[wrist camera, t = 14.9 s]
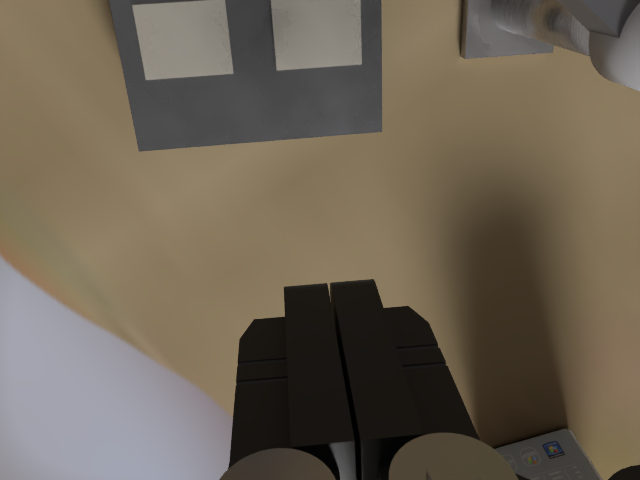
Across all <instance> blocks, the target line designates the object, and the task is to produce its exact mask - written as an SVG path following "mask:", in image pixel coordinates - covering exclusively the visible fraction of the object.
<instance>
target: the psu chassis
mask: <svg viewBox="0 0 640 480" xmlns="http://www.w3.org/2000/svg"><path fill="white" fill-rule="evenodd" d="M109 3H110V8H111V13H112V18H113V23H114V28H115V33H116V38H117V43H118V48H119V53H120V58H121V63H122V68H123V73H124V78H125V83H126V88H127V93H128V98H129V104H130V109H131V114H132V119H133V124H134V129H135V134H136V139H137V144H138V149H139V151H150V150H163V149H175V148H187V147H200V146H212V145H224V144H237V143H249V142H261V141H274V140H286V139H298V138H311V137H323V136H336V135H348V134H360V133H373V132H382V42H381V0H109Z"/></svg>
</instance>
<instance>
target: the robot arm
mask: <svg viewBox="0 0 640 480" xmlns="http://www.w3.org/2000/svg"><path fill="white" fill-rule="evenodd" d="M330 299H331V302H330ZM284 302H285V317H276V318H265V319H254V320H253V322H252V323H251V324H250V326H249V327H248V329H247V330H246V331H245V333H244V334H243V335H242V337H241V338H240V341H239V353H238V366H237V378H236V384H237V386H236V390H235V402H234V414H233V427H232V440H231V451H230V462H229V468H228V470H227V471H226V472H225V473H224V474H223V476H222V477H221V478H220V480H530V479H527V478H525V477H523V476H521V475H519V474H516V473H515V472H514V471H513V469H512V468H511V466H510V465H509V463H508V462H507V461H506V459H505V458H504V457H503V456H502V455H501V454H500V453H498V452H497V451H496V450H495V449H493V448H492V447H490V446H489V445H487V444H485V443H484V442H482V441H480V439H479V437H478V435H477V433H476V430H475V428H474V426H473V424H472V421H471V419H470V417H469V414H468V412H467V410H466V407H465V405H464V403H463V401H462V398H461V396H460V394H459V391H458V389H457V387H456V384H455V382H454V380H453V378H452V375H451V373H450V371H449V368H448V366H446V361H445V359H444V357H443V355H442V352H441V350H440V348H438V343H437V341H436V338H435V336H434V334H433V332H432V329H431V327H430V325H429V323H428V322H427V321H426V320H425V319H424V318H422V317H421V316H420V315H419V314H417V313H416V312H415V311H414V310H413V309H411V308H410V307H409V306H403V307H391V308H383V305H382V302H381V299H380V296H379V293H378V289H377V286H376V283H375V281H374V280H373V279H370V280H358V281H346V282H334V283H330V296H329V291H328V285H327V283H324V284H312V285H300V286H288V287H284ZM608 480H640V465H636V466H630V467H627V468H624V469H621V470H620V471H618V472H616V473H615V474H613V475H612V476H611V477H610V478H609V479H608Z"/></svg>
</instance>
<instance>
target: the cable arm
mask: <svg viewBox="0 0 640 480" xmlns="http://www.w3.org/2000/svg"><path fill="white" fill-rule="evenodd" d="M557 1H558V2H559V3H560V4H561V5H562V6H563V7H564V8H565V9H566V10H567V11H568V12H569V13H570V14H571V15H573V16H574V17H575V18H576V19H577V20H578V21H579V22H580V23H581V24H582V25H583V26H584V27H585V28H586V29H587V30H588V31H589V32H590V34H589V55H590V58H591V61H592V64H593V66H594V67H595V69H596V70H597V71H598V73H599V74H600V75H602V76H603V77H604V78H606V79H608V80H610V81H612V82H615V83H618V84H621V85H624V86H626V87H629V88H632V89H635V90H637V91H640V0H557Z"/></svg>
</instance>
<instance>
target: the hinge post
mask: <svg viewBox="0 0 640 480" xmlns="http://www.w3.org/2000/svg"><path fill="white" fill-rule="evenodd" d="M589 34H590V32H589V31H588V30H587V29H586V28H585V27H584V26H583V25H582V24H581V23H580V22H579V21H578V20H577V19H576V18H575V17H574V16H573V15H571V14H570V13H569V12H568V11H567V10H566V9H565V8H564V7H563V6H562V5H561V4H560V3H559V2H558V1H557V0H463V19H462V38H461V57H462V58H464V59H470V58H483V57H497V56H511V55H524V54H538V53H552V52H553V45H554V46H558V47H561V48H564V49H567V50H571V51H574V52H577V53H581V54H584V55H587V56H590V55H589Z"/></svg>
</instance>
